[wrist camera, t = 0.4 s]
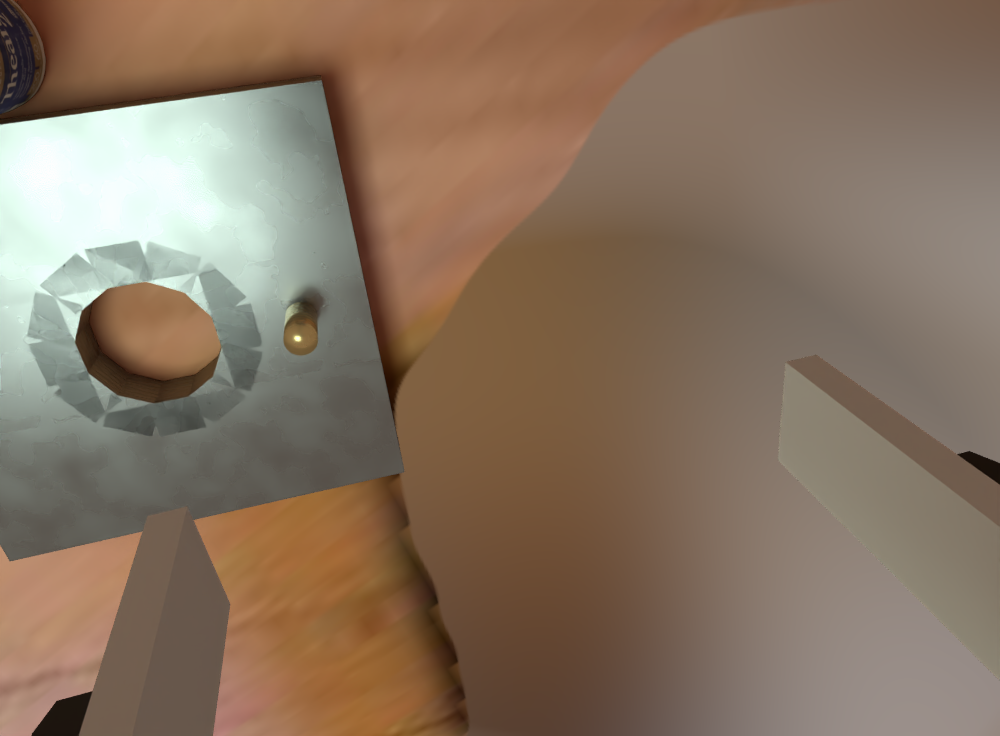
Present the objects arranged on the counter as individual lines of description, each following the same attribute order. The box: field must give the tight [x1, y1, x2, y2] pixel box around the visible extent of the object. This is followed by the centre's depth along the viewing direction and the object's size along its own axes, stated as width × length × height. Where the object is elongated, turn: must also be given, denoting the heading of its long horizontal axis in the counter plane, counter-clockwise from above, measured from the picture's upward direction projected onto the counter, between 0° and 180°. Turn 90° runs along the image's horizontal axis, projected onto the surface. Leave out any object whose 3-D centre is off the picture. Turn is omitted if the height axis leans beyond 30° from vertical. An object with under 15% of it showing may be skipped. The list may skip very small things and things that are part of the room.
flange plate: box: [0, 75, 404, 561], centre depth 35 cm, size 22×22×6 cm
